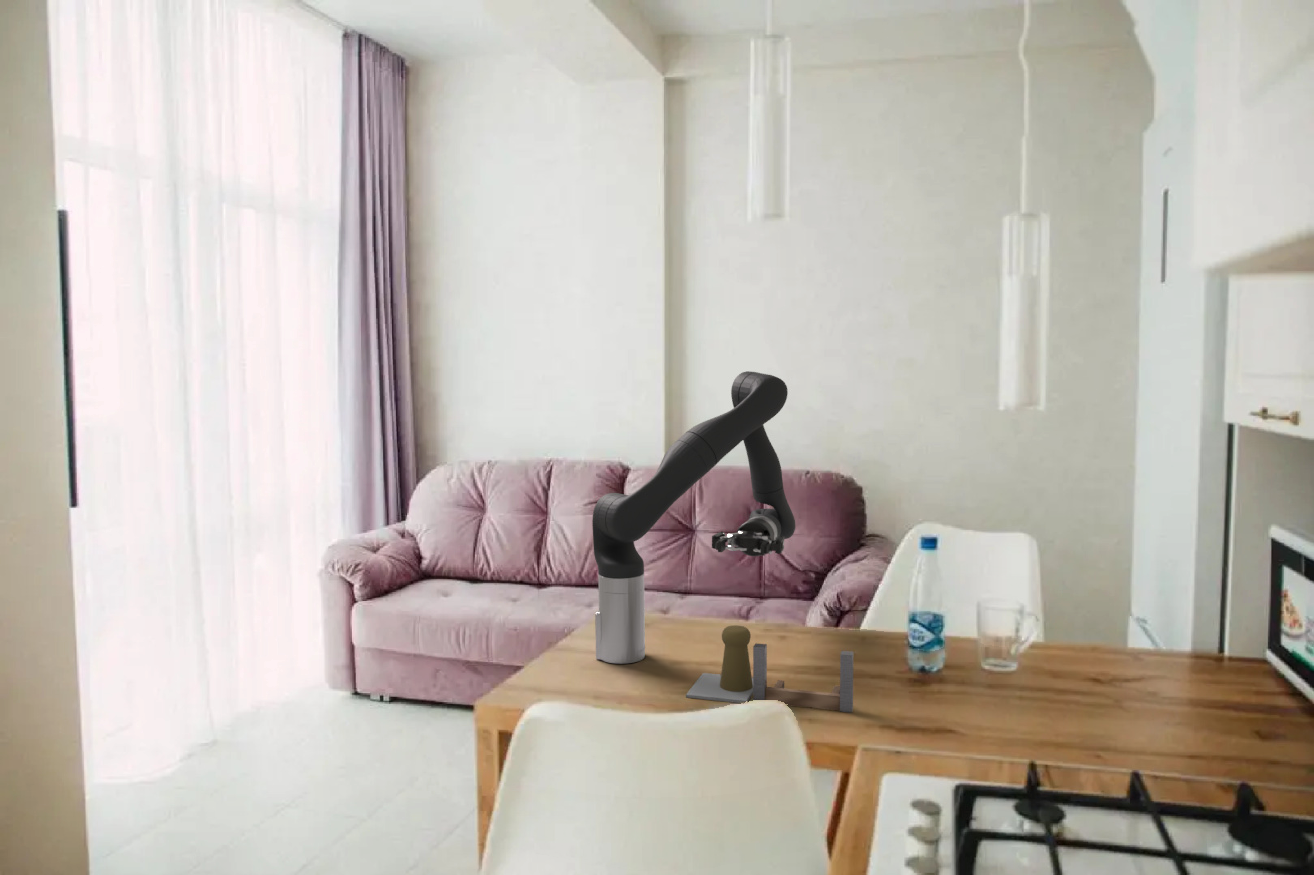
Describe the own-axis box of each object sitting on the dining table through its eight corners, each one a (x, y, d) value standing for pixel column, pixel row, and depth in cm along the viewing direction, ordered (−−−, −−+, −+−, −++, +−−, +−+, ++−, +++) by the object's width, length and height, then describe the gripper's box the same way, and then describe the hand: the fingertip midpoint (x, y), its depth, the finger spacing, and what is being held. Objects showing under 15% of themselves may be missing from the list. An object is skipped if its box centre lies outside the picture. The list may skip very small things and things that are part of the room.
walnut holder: (753, 702, 163) (753, 646, 162) (762, 685, 171) (762, 632, 170) (851, 712, 158) (852, 655, 157) (856, 695, 166) (857, 640, 165)
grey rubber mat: (686, 697, 166) (685, 694, 166) (703, 675, 177) (703, 672, 177) (746, 703, 162) (746, 700, 162) (760, 680, 174) (760, 678, 174)
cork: (751, 680, 173) (751, 622, 172) (754, 691, 167) (754, 631, 166) (718, 680, 173) (718, 622, 172) (720, 691, 167) (720, 631, 166)
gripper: (725, 515, 199) (706, 527, 184) (791, 520, 195) (777, 532, 180) (724, 550, 200) (705, 564, 184) (790, 555, 195) (776, 570, 180)
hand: (740, 548), depth 182 cm, fingers open, 8 cm apart
